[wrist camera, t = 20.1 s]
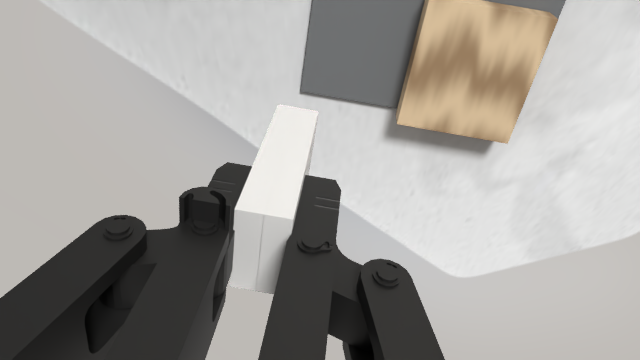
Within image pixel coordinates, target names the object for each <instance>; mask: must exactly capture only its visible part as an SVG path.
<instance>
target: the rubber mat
mask: <svg viewBox="0 0 640 360" xmlns="http://www.w3.org/2000/svg"><path fill="white" fill-rule="evenodd" d="M483 1H489V2H495V3H500V4H506V5H512V6H517V7H523V8H529V9H535V10H540V11H546V12H550V13H551V14H553V15H554V16H555V17H556V18H559V15H560V13H561V11H562V8H563V6H564V3H565V1H566V0H483ZM424 2H425V0H313V1H312V9H311V16H310V24H309V31H308V39H307V46H306V54H305V61H304V69H303V76H302V84H301V91H302V92H307V93H313V94H319V95H324V96H330V97H336V98H341V99H347V100H353V101H358V102H364V103H370V104H375V105H381V106H387V107H392V108H398V104H399V100H400V96H401V92H402V88H403V84H404V80H405V76H406V72H407V68H408V65H409V61H410V57H411V53H412V49H413V45H414V41H415V37H416V33H417V29H418V25H419V21H420V18H421V14H422V10H423V6H424Z"/></svg>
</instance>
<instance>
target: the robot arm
mask: <svg viewBox="0 0 640 360" xmlns="http://www.w3.org/2000/svg"><path fill="white" fill-rule="evenodd" d="M318 112H319V111H314V110H308V109H302V108H297V107H291V106H285V105H280V104H278V106H277V108H276V111H275V113H274V115H273V118H272V120H271V123H270V125H269V128H268V130H267V132H266V135H265V137H264V140H263V142H262V144H261V147H260V149H259V152H258V154H257V156H256V159H255V161H254V164H253V166H252V167H251V166H246V165H240V164H234V163H228V162H227V163H226V164H224V165H223V166H221V167H220V168H218V169H217V170H216V172H215V174H214V176H213V178H212V180H211V182H210V183H209V185H208V187H198V188H192V189H190V190H188V191H185V192H184V193H183V194H182V195H181V196H180V197H179V211H180V212H179V213H180V223H179V225H178V226H177V227H174V228H170V229H161V230H146V226H145V224H144V223H143V222H142V221H141V220H139V219H137V218H136V217H132V216H128V215H118V216H117V215H115V216H111V217H108V218H104V219H103V220H101V221H99V222H97V223H96V224H94V225H93V226H92V227H91V228H89V229H88V230H87V231H85V232H84V233H83V234H82V235H80V236H79V237H78V238H77V239H75V240H74V241H73V242H71V243H70V244H69V245H68V246H67V247H65V248H64V249H62V250H61V251H60V252H59V253H57V254H56V255H55V256H54V257H52V258H51V259H50V260H49V261H47V262H46V263H45V264H43V265H42V266H41V267H40V268H38V269H37V270H36V271H35V272H33V273H32V274H31V275H29V276H28V277H27V278H26V279H24V280H23V281H22V282H20V283H19V284H18V285H17V286H15V287H14V288H13V289H12V290H10V291H9V292H8V293H6V294H5V295H4V296H3V297H1V298H0V360H205V358H206V355H207V352H208V349H209V346H210V344H211V340H212V338H213V335H214V332H215V329H216V326H217V323H218V320H219V317H220V315H221V312H222V308H223V306H224V303H225V296H226V286H227V284H228V281H229V278H230V287H236V288H241V289H248V290H253V291H258V292H264V293H270V294H274V297H273V301H272V305H271V309H270V313H269V317H268V321H267V325H266V329H265V334H264V338H263V342H262V346H261V350H260V355H259V359H258V360H325V354H326V345H327V335H328V334H330V335H332V336H334V337H336V338H338V339H340V340H342V341H343V350H344V355H345V359H346V360H445V359H444V356H443V354H442V352H441V349H440V347H439V344H438V342H437V339H436V337H435V334H434V332H433V329H432V327H431V324H430V322H429V320H428V317H427V315H426V312H425V310H424V307H423V305H422V302H421V300H420V297H419V295H418V292H417V290H416V288H415V285H414V283H413V280H412V278H411V276H410V275H409V273H408V272H407V270H406V269H405V268H403V267H402V266H401V265H399V264H397V263H395V262H393V261H390V260H384V259H376V260H371V261H369V262H367V263H365V264H364V265H360V264H358V263H356V262H353V261H351V260H350V259H348V258H347V257H345V256H344V255H343V254H342V253H341V252H340V250H339V249H338V247H337V245H336V233H337V224H338V215H339V205H340V196H341V189H340V187H339V186H338V184H337V182H336V180H332V179H326V178H320V177H314V176H309V169H310V162H311V156H312V150H313V144H314V137H315V131H316V125H317V118H318Z"/></svg>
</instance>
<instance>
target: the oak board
mask: <svg viewBox="0 0 640 360" xmlns="http://www.w3.org/2000/svg"><path fill="white" fill-rule="evenodd" d="M557 21H558V18H556V17H555V16H554V15H553V14H551V13H550V12H546V11H540V10H535V9H529V8H523V7H517V6H512V5H506V4H500V3H495V2H489V1H483V0H425V2H424V6H423V10H422V14H421V18H420V21H419V25H418V29H417V33H416V37H415V41H414V45H413V49H412V53H411V57H410V61H409V65H408V68H407V72H406V76H405V80H404V84H403V88H402V92H401V96H400V100H399V104H398V108H397V112H396V120H397V124H399V125H405V126H410V127H416V128H422V129H428V130H433V131H439V132H445V133H450V134H456V135H462V136H467V137H473V138H479V139H484V140H490V141H496V142H501V143H507V144H508V141H509V139H510V136H511V134H512V131H513V129H514V126H515V124H516V122H517V119H518V117H519V114H520V112H521V109H522V107H523V104H524V102H525V100H526V97H527V95H528V92H529V90H530V87H531V85H532V82H533V80H534V77H535V75H536V73H537V70H538V68H539V65H540V63H541V60H542V58H543V55H544V53H545V50H546V48H547V46H548V43H549V41H550V38H551V36H552V33H553V31H554V28H555V26H556V23H557Z"/></svg>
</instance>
